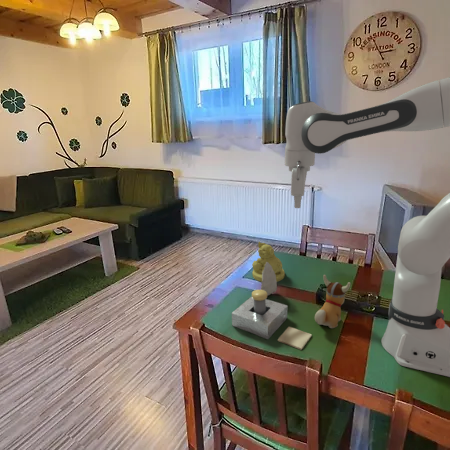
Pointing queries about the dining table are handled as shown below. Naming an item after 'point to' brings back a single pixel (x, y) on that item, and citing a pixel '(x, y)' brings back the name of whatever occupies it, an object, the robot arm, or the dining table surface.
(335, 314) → the toy
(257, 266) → the figurine
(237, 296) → the dining table surface
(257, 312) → the plug
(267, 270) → the stone tool
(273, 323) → the housing
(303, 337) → the coaster
